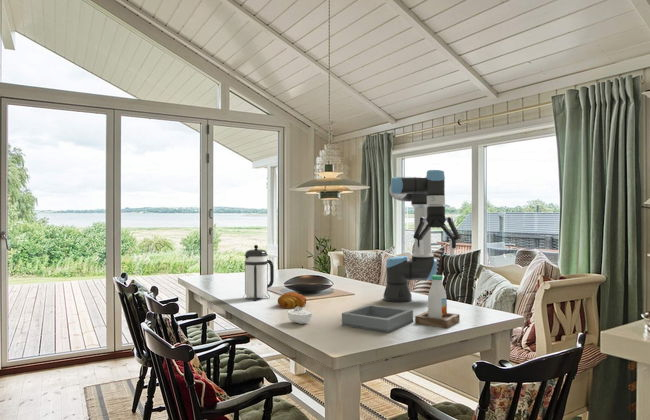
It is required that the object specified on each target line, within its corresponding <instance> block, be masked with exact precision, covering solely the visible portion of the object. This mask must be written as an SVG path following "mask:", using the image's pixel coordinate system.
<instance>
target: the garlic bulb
mask: <svg viewBox="0 0 650 420" xmlns="http://www.w3.org/2000/svg"><path fill="white" fill-rule="evenodd" d="M286 312H287V315H288V320H289V321H291V322H292V323H295V324H299V325H301V324H302V325H303V324H307V323H309V322H310V321H311V319H312V317H313V311H312V310H309V309H305V308H302V307H296V308H293V309H290V310H288V311H286Z"/></svg>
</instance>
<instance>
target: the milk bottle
mask: <svg viewBox="0 0 650 420" xmlns="http://www.w3.org/2000/svg"><path fill="white" fill-rule="evenodd" d="M431 278H432V280H431V286H430V288H429V291H428V295H427V302H428V303H427V309H428V310H427V311H428V317H431V318H439V319H446V318H447V313H448V304H447V303H448V302H447V291H446V289H445V287H444V285H443V279H444V278H443V275H441V274H436V275H432V277H431Z"/></svg>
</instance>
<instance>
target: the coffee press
mask: <svg viewBox="0 0 650 420" xmlns="http://www.w3.org/2000/svg"><path fill="white" fill-rule="evenodd" d="M268 265H269V269H270V271H269V270H268ZM274 271H275V270H274V263H273V261H272V260H270V259H268V252H267V251H266V250H265V249H259V246H258V245H257V244H254V246H253V249H248V250H246V251H245V254H244V296H243V297H242V299H243V298H246V299H247V298H251V299H253V301H254V300H255V301H254V302H257V301H258V299H260V298H264V297H265V298H267V299H268V298H269V299H270V298H271V296H270V295H269V288H271V287H272V286H273V284H274V282H275V279H274V277H275V276H274V274H275V273H274ZM268 272H269V275H270V277H268ZM268 278H270V280H268ZM268 282H269V283H268ZM267 295H268V296H267ZM245 296H246V297H245ZM256 300H257V301H256Z"/></svg>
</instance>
